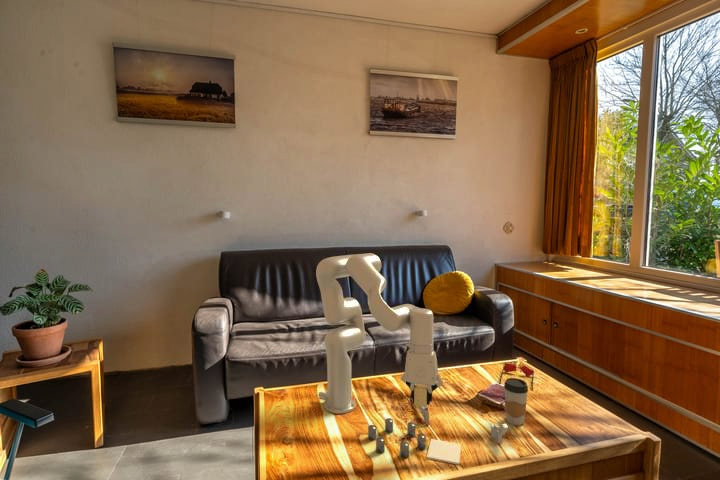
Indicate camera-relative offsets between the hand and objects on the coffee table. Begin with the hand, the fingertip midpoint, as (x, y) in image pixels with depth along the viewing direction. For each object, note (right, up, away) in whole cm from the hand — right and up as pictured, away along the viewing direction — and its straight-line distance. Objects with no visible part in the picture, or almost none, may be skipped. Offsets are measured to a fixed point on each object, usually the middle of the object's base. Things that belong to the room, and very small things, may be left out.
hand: (421, 401), depth 129 cm
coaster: (+7, -16, -1) cm, 18 cm away
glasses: (+52, -12, +52) cm, 75 cm away
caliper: (+3, -14, +25) cm, 29 cm away
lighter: (+27, -16, +5) cm, 32 cm away
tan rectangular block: (0, -1, 0) cm, 1 cm away
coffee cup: (+37, -15, +18) cm, 44 cm away
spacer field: (-8, -16, +4) cm, 18 cm away
